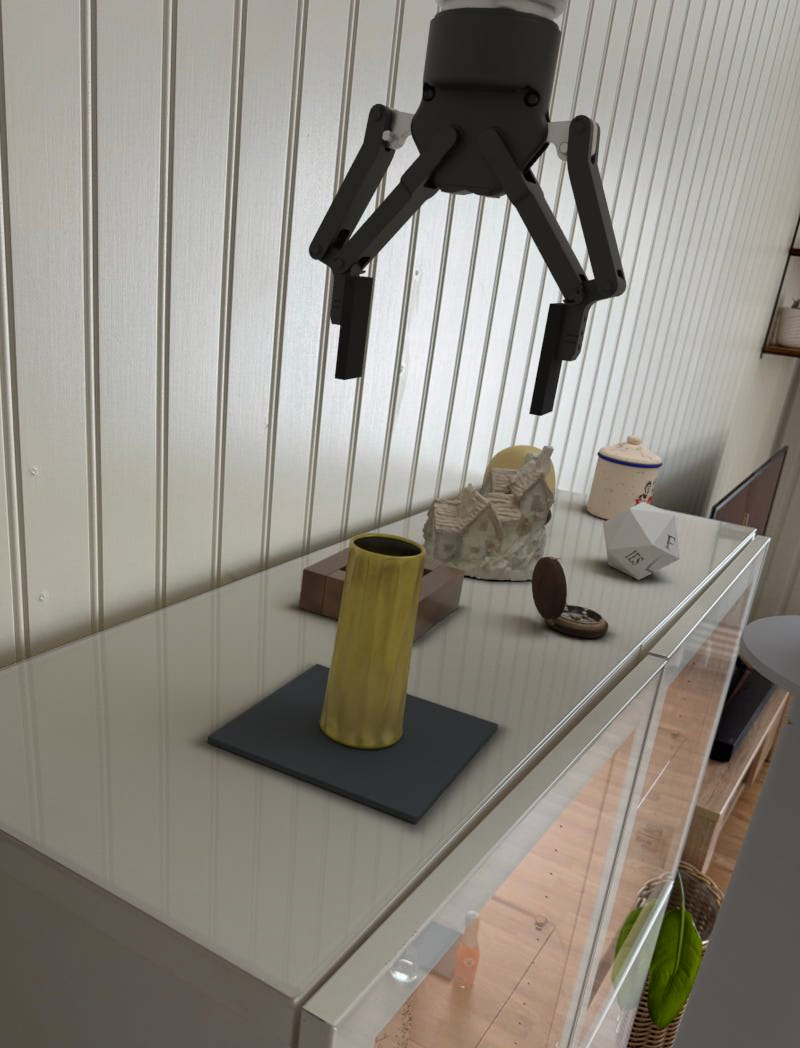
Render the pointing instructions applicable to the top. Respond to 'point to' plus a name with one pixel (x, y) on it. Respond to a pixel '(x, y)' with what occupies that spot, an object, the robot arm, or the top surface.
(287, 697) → the mat
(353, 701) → the vase
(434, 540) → the ceramic cottage
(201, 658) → the top surface
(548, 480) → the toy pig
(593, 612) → the compass
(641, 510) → the die
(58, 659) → the top surface
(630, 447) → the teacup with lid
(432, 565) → the holder
